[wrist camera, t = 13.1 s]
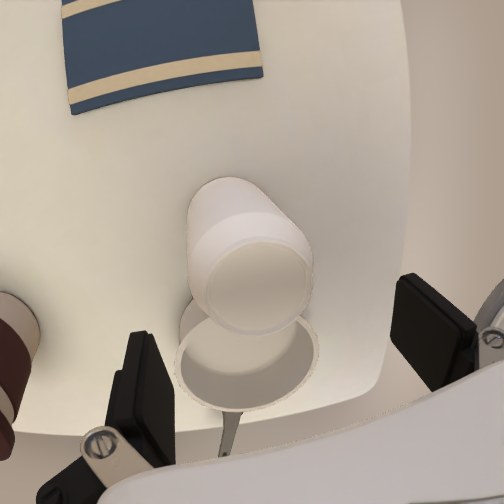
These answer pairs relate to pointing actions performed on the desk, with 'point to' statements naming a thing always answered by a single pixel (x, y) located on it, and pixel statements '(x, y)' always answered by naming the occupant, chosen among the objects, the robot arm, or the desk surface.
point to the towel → (154, 47)
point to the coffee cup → (14, 363)
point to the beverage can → (246, 259)
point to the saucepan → (241, 366)
